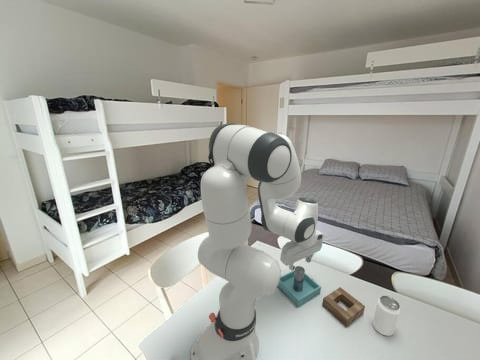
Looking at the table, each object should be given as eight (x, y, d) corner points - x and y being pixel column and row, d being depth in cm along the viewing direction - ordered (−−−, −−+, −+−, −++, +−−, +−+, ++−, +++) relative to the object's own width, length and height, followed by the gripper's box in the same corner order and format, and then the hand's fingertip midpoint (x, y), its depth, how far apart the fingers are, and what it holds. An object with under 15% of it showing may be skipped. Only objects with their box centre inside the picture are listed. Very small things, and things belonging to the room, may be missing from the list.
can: (388, 340, 73) (396, 314, 69) (368, 325, 78) (375, 300, 74) (396, 329, 77) (404, 304, 73) (376, 316, 82) (383, 291, 78)
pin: (297, 293, 91) (299, 274, 87) (291, 286, 94) (292, 268, 91) (304, 289, 93) (306, 270, 89) (297, 283, 96) (299, 264, 93)
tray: (297, 307, 85) (298, 300, 84) (276, 285, 96) (277, 278, 94) (320, 294, 91) (321, 286, 90) (297, 274, 102) (298, 267, 101)
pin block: (346, 327, 77) (347, 319, 76) (322, 305, 86) (323, 297, 85) (363, 313, 83) (365, 306, 81) (338, 294, 91) (340, 287, 90)
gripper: (289, 248, 77) (286, 279, 81) (326, 233, 87) (322, 261, 91) (278, 240, 82) (275, 269, 87) (314, 226, 92) (311, 253, 97)
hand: (300, 265), depth 89 cm, fingers open, 8 cm apart
